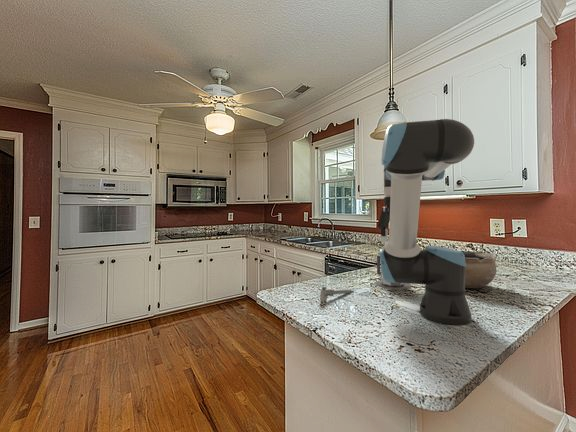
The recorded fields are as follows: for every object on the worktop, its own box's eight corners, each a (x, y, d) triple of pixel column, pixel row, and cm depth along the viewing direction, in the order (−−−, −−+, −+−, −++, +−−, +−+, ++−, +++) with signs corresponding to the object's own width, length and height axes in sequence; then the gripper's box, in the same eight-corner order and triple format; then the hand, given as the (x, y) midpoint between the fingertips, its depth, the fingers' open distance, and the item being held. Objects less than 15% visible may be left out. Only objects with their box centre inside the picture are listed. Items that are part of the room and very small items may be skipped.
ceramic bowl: (476, 296, 110) (476, 260, 110) (428, 283, 130) (429, 252, 130) (507, 289, 119) (507, 255, 119) (458, 277, 139) (459, 248, 139)
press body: (408, 284, 125) (408, 253, 125) (396, 288, 119) (396, 256, 119) (383, 279, 136) (383, 250, 135) (371, 282, 130) (371, 252, 129)
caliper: (322, 304, 105) (322, 288, 105) (320, 303, 106) (320, 287, 106) (353, 292, 119) (353, 278, 118) (351, 291, 120) (351, 277, 119)
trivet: (418, 286, 125) (418, 284, 125) (399, 293, 115) (399, 291, 115) (387, 279, 138) (386, 277, 138) (367, 285, 128) (367, 283, 128)
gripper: (399, 196, 136) (399, 239, 136) (369, 196, 120) (369, 243, 121) (414, 196, 130) (413, 240, 130) (384, 195, 114) (384, 245, 115)
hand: (392, 242), depth 126 cm, fingers open, 13 cm apart
